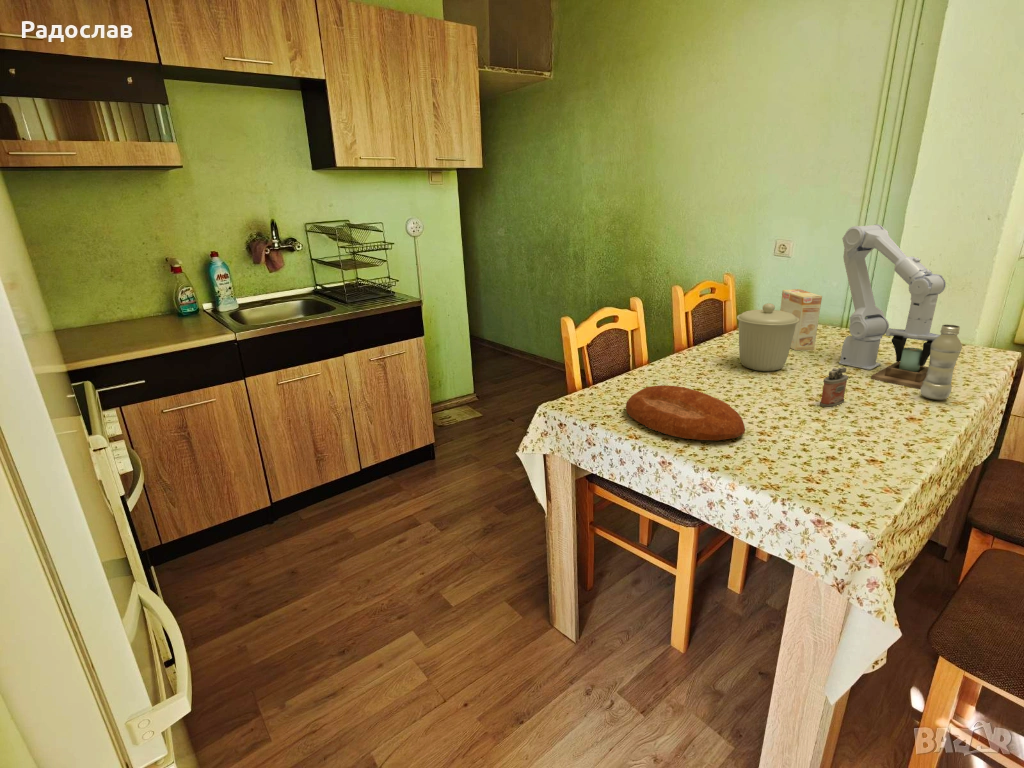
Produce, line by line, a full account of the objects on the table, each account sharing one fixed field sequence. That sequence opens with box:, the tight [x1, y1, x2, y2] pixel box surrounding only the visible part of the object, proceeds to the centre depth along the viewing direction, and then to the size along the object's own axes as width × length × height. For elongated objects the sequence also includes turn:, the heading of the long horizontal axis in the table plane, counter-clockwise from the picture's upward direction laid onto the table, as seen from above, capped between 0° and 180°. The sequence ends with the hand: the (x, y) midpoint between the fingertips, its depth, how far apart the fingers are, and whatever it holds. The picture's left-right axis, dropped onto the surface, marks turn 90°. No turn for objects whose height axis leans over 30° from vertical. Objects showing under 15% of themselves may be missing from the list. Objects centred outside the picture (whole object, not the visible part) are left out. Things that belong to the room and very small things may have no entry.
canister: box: [736, 302, 799, 372], centre depth 169 cm, size 18×18×21 cm
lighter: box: [819, 366, 849, 408], centre depth 139 cm, size 8×3×10 cm, turn 117°
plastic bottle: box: [920, 324, 963, 401], centre depth 138 cm, size 6×7×20 cm
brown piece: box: [870, 362, 929, 390], centre depth 155 cm, size 14×14×4 cm
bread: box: [625, 384, 746, 441], centre depth 133 cm, size 23×32×9 cm
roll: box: [899, 347, 923, 372], centre depth 154 cm, size 5×5×8 cm
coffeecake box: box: [779, 288, 823, 351], centre depth 191 cm, size 15×7×20 cm, turn 179°
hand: (910, 363), depth 154 cm, fingers open, 5 cm apart
